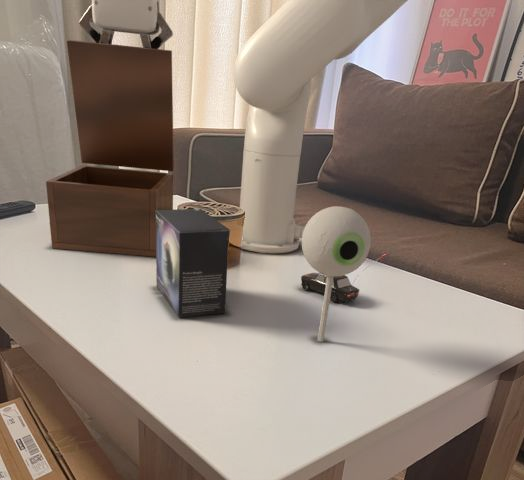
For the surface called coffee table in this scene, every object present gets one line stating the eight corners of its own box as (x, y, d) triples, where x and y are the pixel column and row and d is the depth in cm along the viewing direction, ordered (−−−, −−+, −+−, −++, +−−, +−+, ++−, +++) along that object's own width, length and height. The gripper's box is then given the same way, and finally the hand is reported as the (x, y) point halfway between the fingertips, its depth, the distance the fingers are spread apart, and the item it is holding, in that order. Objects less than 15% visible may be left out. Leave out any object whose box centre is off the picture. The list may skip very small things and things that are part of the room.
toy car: (314, 283, 77) (322, 230, 74) (381, 310, 70) (394, 252, 66) (296, 287, 75) (303, 232, 71) (364, 316, 67) (376, 256, 64)
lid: (171, 51, 81) (175, 45, 85) (66, 40, 80) (76, 35, 84) (173, 171, 93) (177, 161, 97) (81, 163, 92) (89, 153, 96)
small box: (152, 287, 70) (152, 207, 65) (199, 284, 72) (202, 207, 68) (175, 318, 61) (177, 229, 57) (227, 313, 64) (233, 228, 59)
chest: (156, 257, 82) (156, 191, 77) (51, 248, 81) (45, 181, 76) (172, 229, 98) (173, 173, 93) (85, 221, 97) (82, 165, 92)
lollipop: (301, 356, 56) (321, 214, 49) (281, 328, 62) (296, 198, 55) (362, 353, 58) (389, 216, 51) (336, 326, 64) (357, 200, 57)
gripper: (184, -42, 84) (181, 85, 92) (75, -55, 83) (82, 75, 91) (178, -54, 77) (176, 85, 85) (59, -68, 76) (69, 74, 84)
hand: (127, 78), depth 88 cm, fingers closed on lid, 5 cm apart
